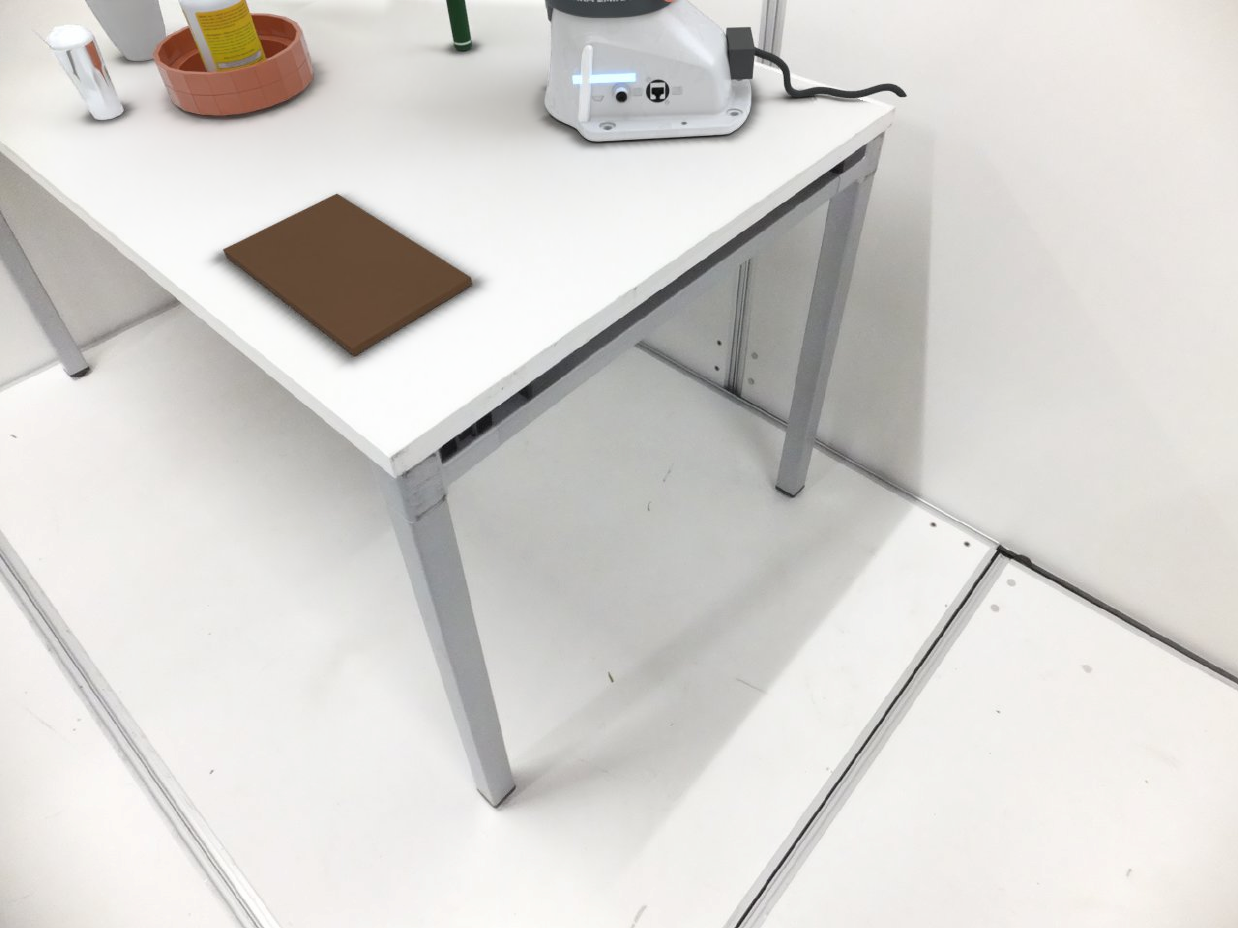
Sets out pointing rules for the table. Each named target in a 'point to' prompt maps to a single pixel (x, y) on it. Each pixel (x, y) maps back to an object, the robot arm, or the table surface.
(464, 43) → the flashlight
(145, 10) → the cup
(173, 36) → the bowl
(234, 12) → the supplement bottle
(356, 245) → the mat
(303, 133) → the table surface
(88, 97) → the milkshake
